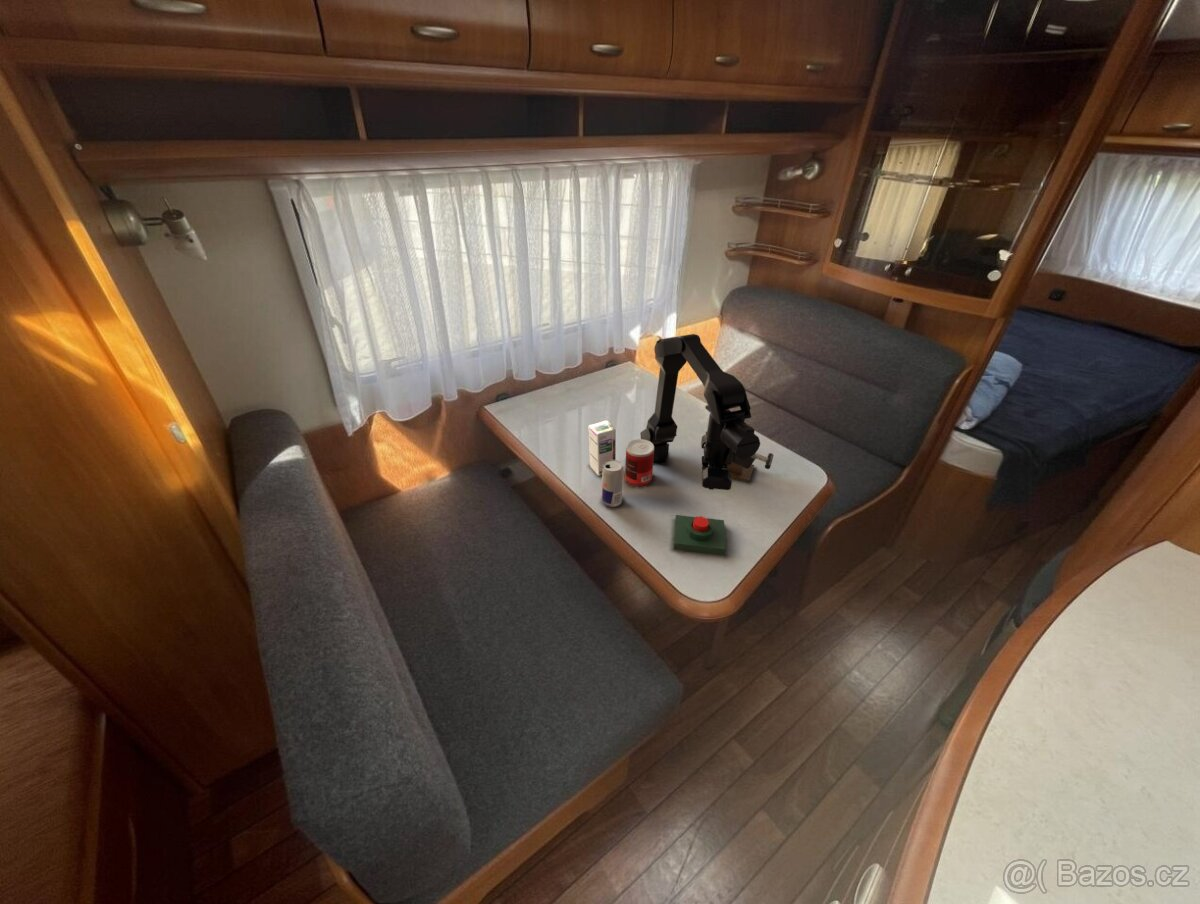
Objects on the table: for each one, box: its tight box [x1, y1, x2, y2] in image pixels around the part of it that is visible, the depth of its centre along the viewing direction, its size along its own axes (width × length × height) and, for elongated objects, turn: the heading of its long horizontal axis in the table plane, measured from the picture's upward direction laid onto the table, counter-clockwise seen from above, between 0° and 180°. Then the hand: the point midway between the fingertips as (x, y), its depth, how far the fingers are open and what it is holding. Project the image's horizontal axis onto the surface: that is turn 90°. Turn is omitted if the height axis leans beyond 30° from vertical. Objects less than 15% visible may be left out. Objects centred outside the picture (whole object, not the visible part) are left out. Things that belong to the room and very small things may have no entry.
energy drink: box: [601, 459, 624, 508], centre depth 125 cm, size 5×5×12 cm
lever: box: [755, 452, 774, 470], centre depth 134 cm, size 11×6×2 cm, turn 65°
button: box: [693, 516, 709, 532], centre depth 115 cm, size 4×4×2 cm
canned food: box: [624, 438, 654, 487], centre depth 134 cm, size 8×8×11 cm
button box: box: [672, 514, 727, 556], centre depth 116 cm, size 12×10×4 cm
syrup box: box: [588, 420, 617, 477], centre depth 137 cm, size 6×6×14 cm
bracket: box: [727, 462, 755, 483], centre depth 137 cm, size 10×8×10 cm
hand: (711, 488), depth 116 cm, fingers closed
